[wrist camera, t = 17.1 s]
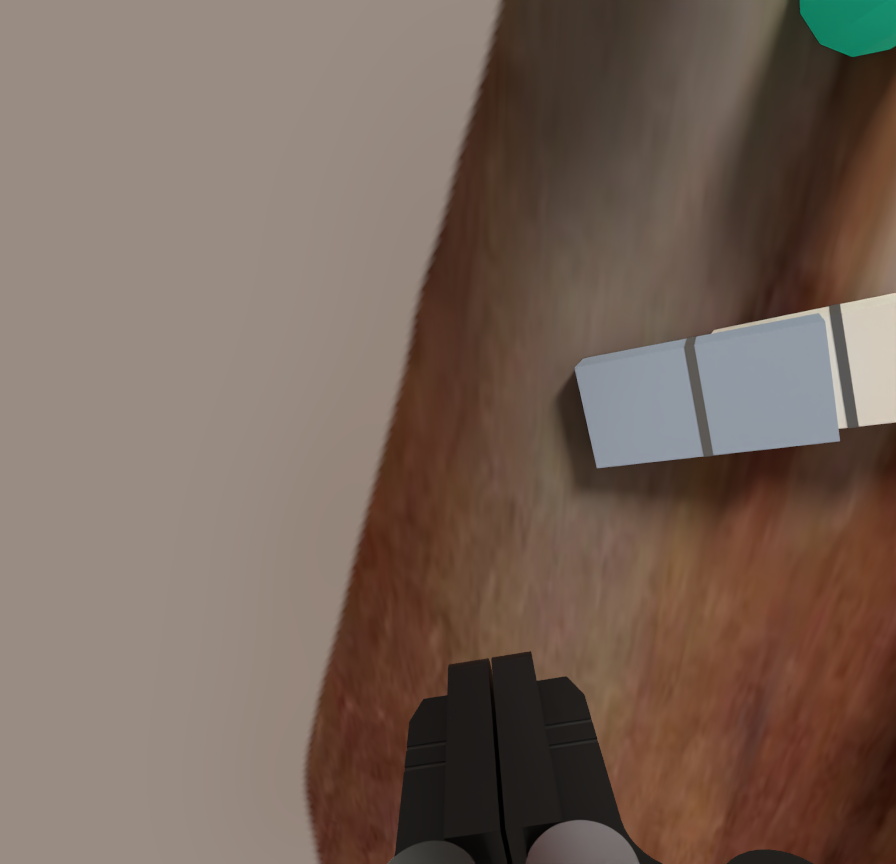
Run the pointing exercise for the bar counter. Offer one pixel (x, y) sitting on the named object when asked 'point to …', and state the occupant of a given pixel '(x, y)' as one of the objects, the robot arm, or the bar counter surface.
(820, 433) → the domino
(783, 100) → the bar counter surface
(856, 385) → the domino
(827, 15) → the candle
